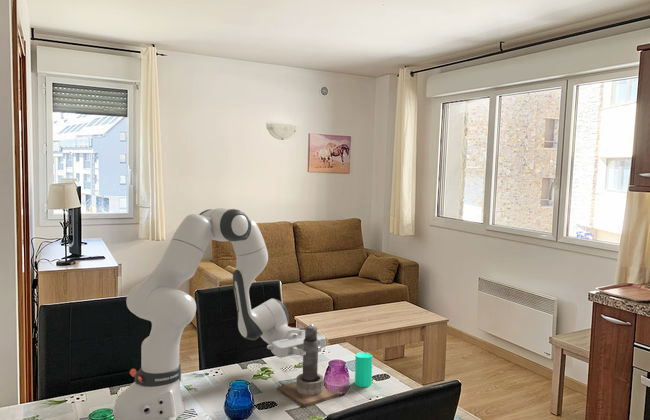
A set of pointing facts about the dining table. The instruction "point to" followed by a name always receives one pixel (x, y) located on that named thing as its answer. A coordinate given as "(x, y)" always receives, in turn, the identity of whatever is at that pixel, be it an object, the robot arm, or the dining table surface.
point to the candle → (363, 369)
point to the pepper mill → (310, 354)
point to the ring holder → (307, 391)
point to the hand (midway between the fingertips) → (312, 351)
